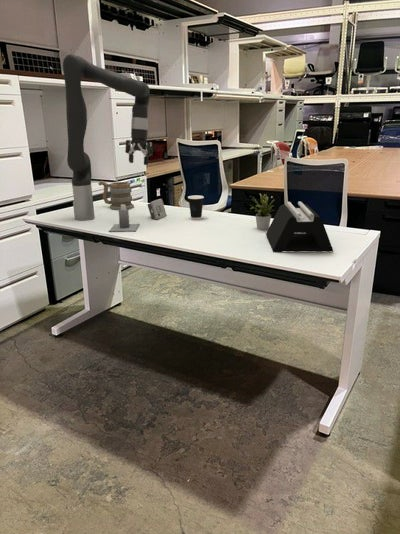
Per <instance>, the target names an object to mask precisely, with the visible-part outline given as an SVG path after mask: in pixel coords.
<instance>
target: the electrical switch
mask: <svg viewBox="0 0 400 534" xmlns="http://www.w3.org/2000/svg"><path fill="white" fill-rule="evenodd" d="M147 207H148V212H149V214H150V215H149V216H150V218H151V219H152V220H153V219H155V221H157V220H159V219H162V218H165V217H167V212H166V208H165V204H164V201H163V199H162V198H159V199H155V200H153V201H152V200H151V201H150V203H147Z"/></svg>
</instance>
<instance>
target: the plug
mask: <svg viewBox="0 0 400 534" xmlns="http://www.w3.org/2000/svg"><path fill="white" fill-rule="evenodd" d="M129 218H130V215H129V210H128V209H126V205H121V209H120V210H118V221H119V222H118V224H120V228H129V224H130V219H129Z"/></svg>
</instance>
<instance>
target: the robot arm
mask: <svg viewBox="0 0 400 534" xmlns="http://www.w3.org/2000/svg"><path fill="white" fill-rule="evenodd" d="M62 72H63V79H64V84H65V85H64V86H65V105H66V110H65V111H66V128H67V129H66V130H67V142H68V143H67V155H66V157H67V158H66V160H67V166H68V167H69V169H70V170H71V171H72V179H71V186H72V187H71V188H72V195H73V201H72V205H73V215H74V220H77V221H89V220H93V219H95V217H96V216H95V208H94V199H93V189H92V163H91V159H90V156H89V155H88V153H86V152H85V148H84V147H85V145H84V143H85V136H86V132H87V125H88V110H87V104H86V100H85V98H84V95H83V92H82V85H81V84H82V79H85V80H91V81H95V82H97V83H100V84H102V85H104V86H106V87H108V88H111V89H112V90H115V91H118V92H121V93H125V94H127V95H130V96H132V97H134V104H133V105H132V108H131V109H132V110H131V111H132V112H131V117H132V118H131V121H130V122H131V123H130V124H131V125H130V127H131V128H130V130H131V131H130V137H131V139H126V140H125V153H126V154H128V162H129V163H130V164H133V163H134V156H135V155H134V154H135V153H136V152H137V151H139V152H141V153H142V154H143V165H144V166H147V165H148V164H149V157H151V156H153V149H154V147H153V142H151V141H150V142H149V141H147V140H148V131H149V129H148V126H149V124H148V113H149V112H148V110H149V109H148V107H149V102H150V95H151V94H150V93H151V92H150V91H151V90H150V87H149V85H148V84H147V83H145V82H143V81H141V80H137V79H134V78H131V77H129V76H126V75H125V74H121V73H118V72H116V71H113V70H109V69H105V68H103V67H99V66H97V65H95V64H94V63H91V62H89V61H88V60H87V59H85V58H83V57H81V56H79V55H76V54H72V53H71V54H67V55H66V56H65V57H64V59H63V62H62Z"/></svg>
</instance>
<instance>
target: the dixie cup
mask: <svg viewBox="0 0 400 534" xmlns="http://www.w3.org/2000/svg"><path fill="white" fill-rule="evenodd" d="M204 198H205V197H204V196H203V195H189V196H187V199H188V205H189V211H190V213H189V214H190V219H191V220H193V221H195V220H196V221H197V220H201V219H202V217H203V204H204Z"/></svg>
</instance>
